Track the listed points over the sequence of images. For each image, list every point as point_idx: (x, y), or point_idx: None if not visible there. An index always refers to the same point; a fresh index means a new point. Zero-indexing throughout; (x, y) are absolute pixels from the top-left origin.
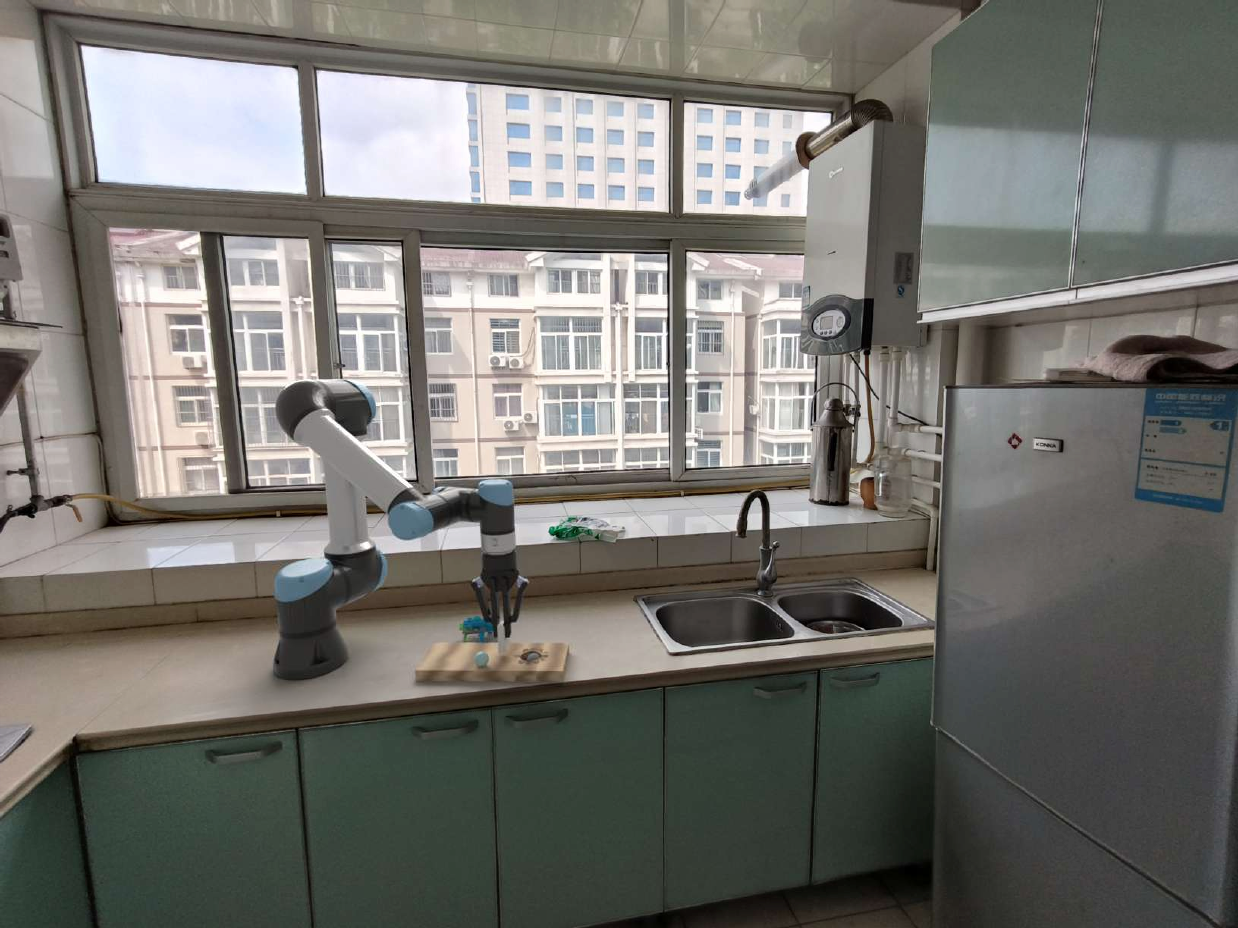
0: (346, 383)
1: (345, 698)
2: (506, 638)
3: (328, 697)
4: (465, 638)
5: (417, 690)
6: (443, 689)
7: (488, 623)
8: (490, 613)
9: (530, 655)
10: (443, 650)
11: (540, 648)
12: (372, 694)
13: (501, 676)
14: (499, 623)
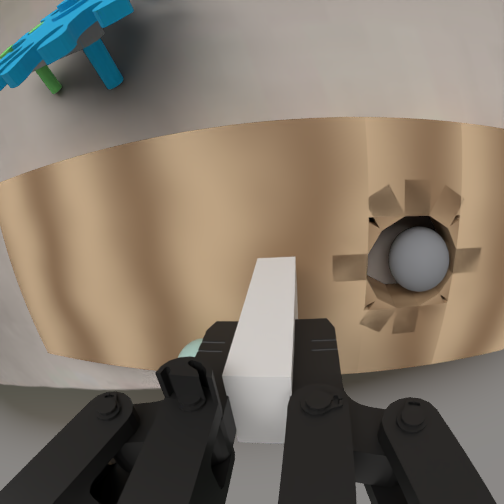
0: None
1: (20, 372)
2: (295, 308)
3: (3, 364)
4: (50, 80)
5: (96, 372)
6: (148, 376)
7: (89, 25)
8: (119, 448)
9: (416, 280)
10: (31, 239)
11: (449, 184)
12: (39, 370)
13: None
14: (239, 413)
